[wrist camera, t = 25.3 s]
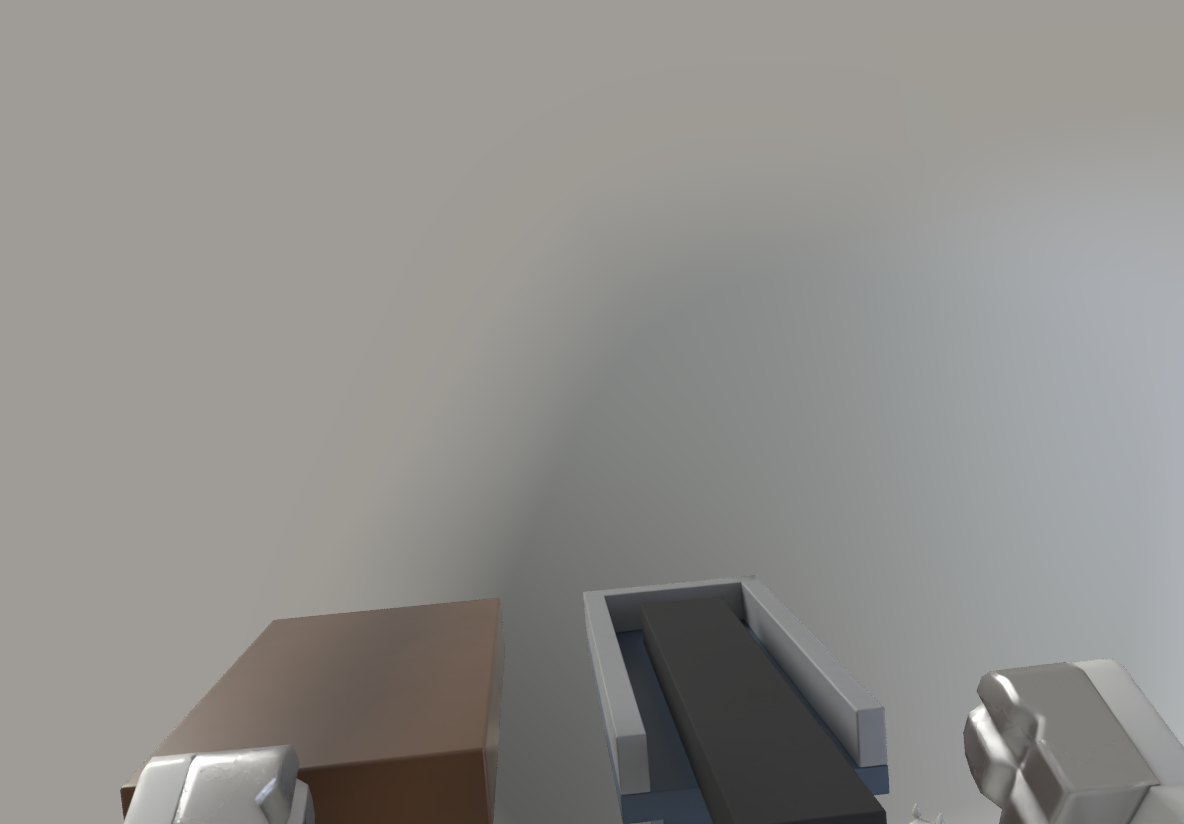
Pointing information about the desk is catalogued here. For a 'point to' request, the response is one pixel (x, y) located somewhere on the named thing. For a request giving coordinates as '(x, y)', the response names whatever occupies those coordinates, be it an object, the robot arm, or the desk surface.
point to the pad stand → (368, 711)
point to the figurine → (921, 823)
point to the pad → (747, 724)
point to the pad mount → (644, 723)
